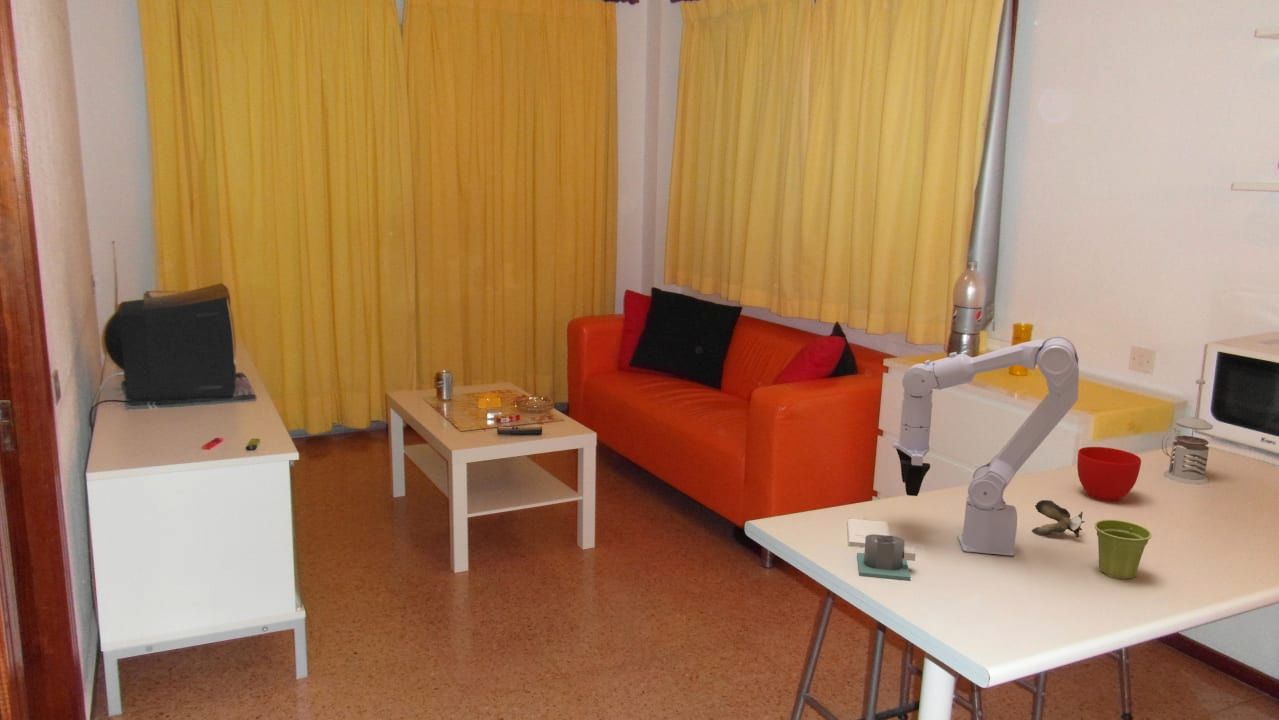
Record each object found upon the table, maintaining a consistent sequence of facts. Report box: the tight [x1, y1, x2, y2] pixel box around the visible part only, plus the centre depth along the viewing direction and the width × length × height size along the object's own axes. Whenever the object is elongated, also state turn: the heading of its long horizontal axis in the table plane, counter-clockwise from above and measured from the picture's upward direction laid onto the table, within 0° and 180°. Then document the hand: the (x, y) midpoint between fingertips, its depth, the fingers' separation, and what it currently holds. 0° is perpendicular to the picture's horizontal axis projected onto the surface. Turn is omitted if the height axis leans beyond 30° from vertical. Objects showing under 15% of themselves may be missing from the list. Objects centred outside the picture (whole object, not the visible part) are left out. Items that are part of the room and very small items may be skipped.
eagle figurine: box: [1031, 499, 1086, 539], centre depth 189 cm, size 8×7×9 cm
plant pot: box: [1094, 519, 1153, 580], centre depth 171 cm, size 9×9×9 cm
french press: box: [1160, 378, 1214, 485], centre depth 225 cm, size 10×12×25 cm
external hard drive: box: [846, 518, 891, 548], centre depth 186 cm, size 2×8×12 cm
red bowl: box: [1076, 446, 1142, 503], centre depth 213 cm, size 13×17×10 cm
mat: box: [856, 552, 911, 581], centre depth 171 cm, size 9×9×1 cm
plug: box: [863, 534, 916, 570], centre depth 171 cm, size 9×4×5 cm, turn 80°
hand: (909, 488), depth 187 cm, fingers open, 7 cm apart
